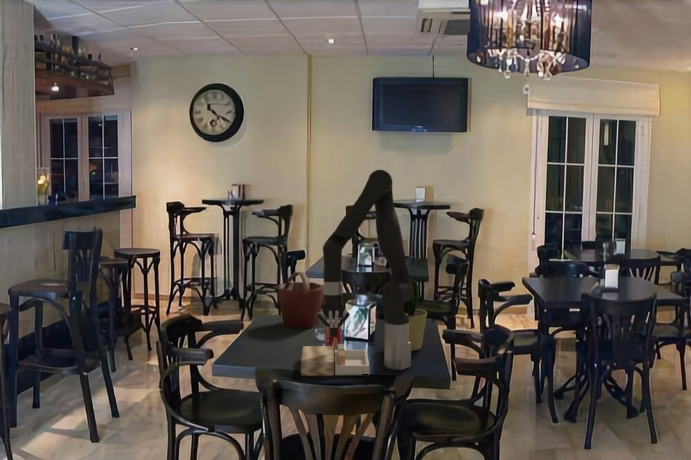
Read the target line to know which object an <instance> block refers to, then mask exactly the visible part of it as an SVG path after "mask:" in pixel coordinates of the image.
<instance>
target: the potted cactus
mask: <svg viewBox="0 0 691 460" xmlns="http://www.w3.org/2000/svg"><path fill="white" fill-rule="evenodd" d="M410 279H411V282H412V286H413V296H412V298H411V300H410V301H408V302H406V303H403V308H404V313H407V314H408V315H409V342H411V351H418V350H420V349H422V347H423V341H424V334H425V328H426V321H427V316H428V315H427V314H428V312H427V311H426V310H423V309H418V307H419V305H418V302H419V301H420V300H421V299H420V295H421V293H419V292H420V291H419V285H420V283H419V282H417V281H416V279H414V278H413V277H410Z"/></svg>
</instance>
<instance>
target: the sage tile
mask: <svg viewBox="0 0 691 460" xmlns="http://www.w3.org/2000/svg"><path fill="white" fill-rule="evenodd" d="M344 350H345V344H344V343H341V344H338V351H344Z"/></svg>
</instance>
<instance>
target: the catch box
mask: <svg viewBox="0 0 691 460" xmlns="http://www.w3.org/2000/svg"><path fill="white" fill-rule="evenodd" d="M344 351H345V365H338V350H335V351H334V375H335V376H363V375H362V374H368V375H367V376H370V362H369V357H368V352H367V349H344Z"/></svg>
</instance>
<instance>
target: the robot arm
mask: <svg viewBox="0 0 691 460" xmlns="http://www.w3.org/2000/svg"><path fill="white" fill-rule="evenodd" d="M373 206H374V209H375V230H376V236H377V237H376V238H377V243H378V247H379V250H380V252H381V254H382V256H383V257H384V259H385V261H386V262H387V264H388V266H389V268H390V271H391V278H392V280H391V281H388V282H387V283H385V284H384V286H383V288H382V292H381V293H382V295H381V300H382V301H381V302H382V304H381V306H382V314H383V317H384V360H383V362H384V367H385V368H386V367H387V369H389V370H396V371H397V370H399V371H403V370H405V369H407V368H410V367H411V366H412V365H411V364H412V363H411V362H412V350H411V342H409V315H408V314H407V313H404V308H403V303H406V302H408V301H410V300H411V298H412V296H413V286H412V282H411V279H410V278H411V276H410V273H409V269H408V268H409V267H408V264H407V260H406V259H407V258H406V253H405V249H404V242H403V241H404V239H403V236H402V230H401V224H400V222H399V221H400V220H399V218H398V214H397V212H396V208H395V203H394V194H393V177H392V176H391V174H390V172H388V171H387V170H384V169H376V170H373V172H371V173H370V175H369V176H368V179H367V181H366V184H365V185H364V188H363V189H362V191H361V193H360V194H359V197H358V198H357V199H356V201H355V202H354V204H352V206H351V207H350V209H349V210H348V211H347V212H346V214H345V215H344V217H343V218H342V220H341V221H340V223H338V225H337V227H336V228H335V230H334V232H333V231H332V232H333V233H332V234H331V235H330V236H329V237H328V238H327V239H326V241H325V243H323V246H322V252H323V254H322V255H323V302H322V307H321V312H320V313H318V314H317V316H318V317H319V321H321V322H322V323H323V325H324V327H325V326H326V327H330V335H331V336H332V337H336V336H337V335H338V327H339V326H341V327H342V326H343V325H344V323H345V322H346V321H347V319H348V318H349V317H350V316H351V314H350V312H349V311H347V310H346V309H345V307H344V293H343V292H344V289H343V288H344V287H343V286H344V285H343V274H342V273H343V270H342V262H343V261H342V257H343V251H342V250H343V249H344V247H345V246H346V245H347V243H348V242H349V241H351V239H352V238H354V236H355V234H356V233H357V232H358V230H359V228H360V227H361V226H362V224H363V223H364V221H365V219H366V218H367V216H368V214H369V212H370V211H371V210H372V208H373ZM341 316H342V318H341ZM325 317H327V319H328V320H329V321H330V323H328V322H327V320H326V318H325ZM340 318H341V319H340ZM333 319H334V327H333ZM338 320H339V321H340V322H339V323H338Z"/></svg>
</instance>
